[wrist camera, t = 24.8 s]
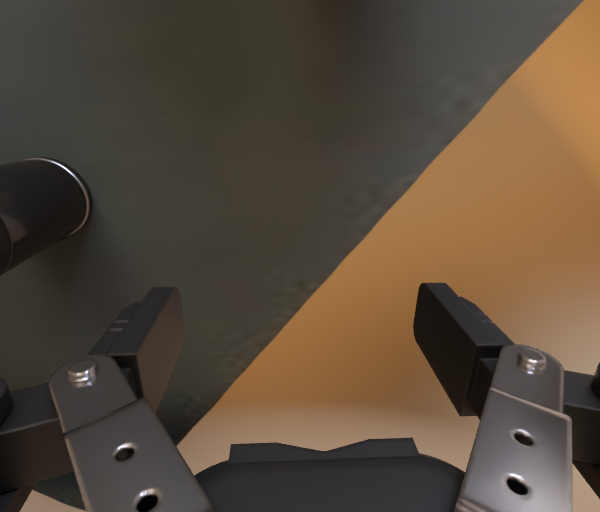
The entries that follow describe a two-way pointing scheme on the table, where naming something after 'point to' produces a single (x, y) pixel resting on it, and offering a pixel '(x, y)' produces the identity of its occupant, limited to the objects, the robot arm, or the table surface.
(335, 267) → the table surface
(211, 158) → the table surface
